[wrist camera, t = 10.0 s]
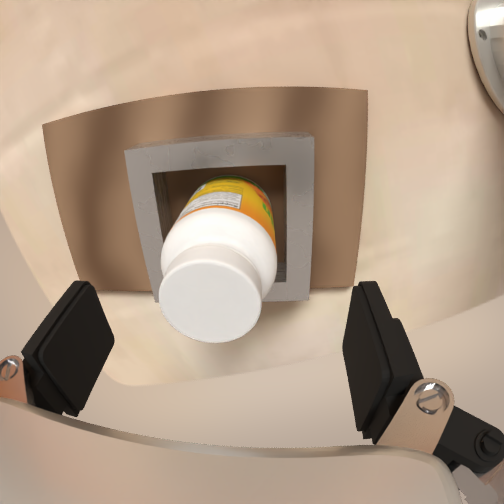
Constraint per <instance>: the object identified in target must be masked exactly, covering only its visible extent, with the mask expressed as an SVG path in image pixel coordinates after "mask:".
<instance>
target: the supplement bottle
mask: <svg viewBox="0 0 504 504" xmlns="http://www.w3.org/2000/svg"><path fill="white" fill-rule="evenodd" d="M161 269H162V274H163V277H164V278H163V280H162V283H161V285H160V289H159V304H160V308H161V311H162V313H163V315H164V317H165V318H166V320H167V321H168V322H169V323H170V325H171V326H172V327H174V328H175V329H176V330H177V331H179V332H180V333H182V334H183V335H185V336H187V337H189V338H191V339H194V340H197V341H201V342H207V343H224V342H229V341H233V340H236V339H238V338H240V337H242V336H244V335H245V334H246V333H248V332H249V331H250V330H251V329H252V328H253V327H254V326H255V324H256V323H257V321H258V319H259V316H260V313H261V307H262V300H263V299H264V298H265V297H266V295H267V294H268V292H269V291H270V289H271V288H272V286H273V283H274V281H275V277H276V272H277V252H276V241H275V230H274V222H273V213H272V207H271V203H270V201H269V198H268V196H267V195H266V193H265V192H264V191H263V189H262V188H261V187H260V186H259V185H258V184H256V183H255V182H253V181H252V180H250V179H248V178H245V177H242V176H238V175H221V176H217V177H214V178H212V179H210V180H208V181H206V182H205V183H203V184H202V185H201V186H200V187H199V188H198V189H197V190H196V191H195V192H194V194H193V195H192V197H191V198H190V200H189V201H188V203H187V205H186V206H185V208H184V209H183V211H182V212H181V214H180V216H179V217H178V219H177V220H176V222H175V224H174V225H173V227H172V228H171V230H170V232H169V233H168V235H167V237H166V240H165V242H164V244H163V248H162V252H161Z"/></svg>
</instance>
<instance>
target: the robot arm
mask: <svg viewBox="0 0 504 504" xmlns="http://www.w3.org/2000/svg"><path fill="white" fill-rule="evenodd" d="M468 35H469V41H470V46H471V52H472V55H473V58H474V62H475V65H476V68H477V70H478V73H479V75H480V78H481V80H482V83H483V84H484V86H485V88H486V90H487V92H488V94H489V96H490V97H491V99H492V100H493V102H494V103H495V105H496V106H497V107H498V108H499V110H500V111H501V112H502V113H503V114H504V0H472V2H471V5H470V8H469V14H468ZM113 345H114V335H113V333H112V331H111V328H110V326H109V324H108V321H107V319H106V316H105V314H104V311H103V309H102V306H101V304H100V301H99V298H98V296H97V293H96V290H95V288H94V286H93V285H91V283H90V282H89V281H74V282H73V283H72V284H71V286H70V287H69V288H68V289H67V290H66V292H65V293H64V294H63V296H62V297H61V298H60V299H59V301H58V302H57V303H56V304H55V306H54V307H53V308H52V310H51V311H50V312H49V314H48V315H47V316H46V318H45V319H44V320H43V322H42V323H41V324H40V326H39V327H38V329H37V330H36V331H35V333H34V334H33V335H32V337H31V338H30V340H29V341H28V342H27V344H26V345H25V347H24V348H23V350H22V351H21V353H22V355H23V356H24V360H23V361H22V359H21V358H19V357H18V356H15V355H11V356H8V357H6V358H4V359H3V360H1V361H0V504H463V503H462V500H461V496H460V492H459V490H461V492H462V493H463V494H464V495H465V496H466V498H465V500H466V501H467V502H468V504H504V434H503V433H502V432H501V431H500V430H499V429H497V428H496V427H494V426H492V425H490V424H488V423H486V422H484V421H482V420H480V419H479V418H476V417H475V416H473V415H471V414H469V413H467V412H465V411H463V410H461V409H460V408H458V407H455V406H454V395H453V393H452V391H451V389H450V388H449V387H448V386H447V385H446V384H445V383H444V382H442V381H440V380H437V379H433V378H426V379H424V378H423V375H422V373H421V370H420V368H419V365H418V362H417V360H416V357H415V354H414V352H413V349H412V347H411V345H410V342H409V340H408V337H407V335H406V332H405V330H404V328H403V325H402V323H401V321H400V320H399V319H398V318H392V316H391V314H390V311H389V309H388V307H387V304H386V302H385V300H384V297H383V295H382V293H381V291H380V288H379V286H378V284H377V282H376V281H363V282H359V284H358V286H354V287H353V290H352V296H351V302H350V307H349V313H348V318H347V324H346V329H345V334H344V339H343V356H344V360H345V365H346V370H347V376H348V382H349V387H350V393H351V398H352V404H353V410H354V416H355V422H356V428H357V431H362V433H363V439H370V438H372V442H373V444H374V445H357V446H333V447H314V448H251V447H250V448H249V447H232V446H218V445H207V444H197V443H188V442H181V441H173V440H166V439H160V438H154V437H148V436H143V435H138V434H132V433H128V432H123V431H118V430H114V429H110V428H105V427H101V426H98V425H94V424H90V423H86V422H83V421H79V420H76V419H72V418H69V417H66V416H63V415H62V413H63V411H64V412H65V413H66V414H68V415H71V416H74V417H77V416H78V414H79V412H80V410H83V408H84V406H85V404H86V402H87V400H88V397H89V395H90V393H91V391H92V388H93V387H94V384H95V382H96V380H97V378H98V376H99V374H100V372H101V370H102V368H103V366H104V364H105V362H106V360H107V357H108V355H109V353H110V351H111V349H112V347H113Z"/></svg>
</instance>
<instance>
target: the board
mask: <svg viewBox="0 0 504 504" xmlns="http://www.w3.org/2000/svg"><path fill="white" fill-rule="evenodd" d="M367 122H368V90H357V89H344V88H326V87H253V88H234V89H221V90H210V91H200V92H191V93H183V94H175V95H168V96H162V97H155V98H149V99H144V100H138V101H133V102H128V103H123V104H118V105H113V106H109V107H104V108H100V109H96V110H92V111H88V112H84V113H80V114H77V115H73V116H69V117H66V118H62V119H59V120H56V121H52V122H49V123H46V124H43V125H42V127H43V135H44V141H45V148H46V154H47V159H48V165H49V170H50V175H51V180H52V184H53V189H54V193H55V198H56V202H57V206H58V210H59V214H60V218H61V221H62V225H63V229H64V232H65V236H66V239H67V242H68V246H69V249H70V252H71V255H72V258H73V262H74V265H75V268H76V270H77V273H78V276H79V279H80V281H89V282H90V283H91V285H93V286H94V288H95V290H113V291H152V288H151V284H150V280H149V276H148V272H147V268H146V263H145V259H144V255H143V250H142V246H141V241H140V237H139V232H138V227H137V222H136V217H135V212H134V207H133V202H132V196H131V191H130V185H129V179H128V173H127V166H126V160H125V153H124V150H126V149H129V148H131V147H133V146H135V145H137V144H139V143H145V142H153V141H160V140H169V139H177V138H187V137H197V136H209V135H222V134H239V133H262V132H308V133H310V134H311V135H312V136H313V137H314V204H313V233H312V255H311V274H310V288H327V287H348V286H353V285H354V278H355V271H356V264H357V257H358V249H359V240H360V231H361V222H362V212H363V200H364V187H365V173H366V154H367ZM221 175H238V176H242V177H245V178H248V179H250V180H252V181H253V182H255V183H256V184H258V185H259V186H260V187H261V188H262V189H263V191H264V192H265V193H266V195H267V196H268V198H269V201H270V203H271V207H272V213H273V222H274V230H275V241H276V252H277V262H284V179H283V165H258V166H235V167H217V168H202V169H189V170H177V171H166V180H167V187H168V194H169V201H170V208H171V214H172V221H173V225H174V224H175V222H176V220H177V219H178V217H179V216H180V214H181V212H182V211H183V209H184V208H185V206H186V205H187V203H188V201H189V200H190V198H191V197H192V195H193V194H194V192H195V191H196V190H197V189H198V188H199V187H200V186H201V185H202V184H203V183H205V182H206V181H208V180H210V179H212V178H214V177H217V176H221Z"/></svg>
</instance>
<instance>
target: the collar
mask: <svg viewBox="0 0 504 504" xmlns="http://www.w3.org/2000/svg"><path fill="white" fill-rule="evenodd" d="M124 153H125V160H126V166H127V173H128V179H129V185H130V191H131V196H132V202H133V207H134V212H135V217H136V222H137V227H138V232H139V237H140V241H141V246H142V250H143V255H144V259H145V263H146V268H147V272H148V276H149V280H150V284H151V288H152V291H153V295H154V299H155V302H159V289H160V285H161V283H162V280H163V278H164V277H163V274H162V269H161V252H162V248H163V244H164V242H165V240H166V237H167V235H168V233H169V232H170V230H171V228H172V227H173V221H172V214H171V208H170V201H169V194H168V187H167V180H166V171H177V170H189V169H202V168H217V167H235V166H258V165H283V179H284V262H277V272H276V277H275V281H274V283H273V286H272V288H271V289H270V291H269V292H268V294H267V295H266V297H265V298H264V299H263V300H262V302H275V301H303V300H309V290H310V274H311V255H312V233H313V204H314V137H313V136H312V135H311V134H310V133H308V132H262V133H239V134H222V135H209V136H197V137H187V138H177V139H169V140H160V141H153V142H145V143H139V144H137V145H135V146H133V147H131V148H129V149H126V150H124Z"/></svg>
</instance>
